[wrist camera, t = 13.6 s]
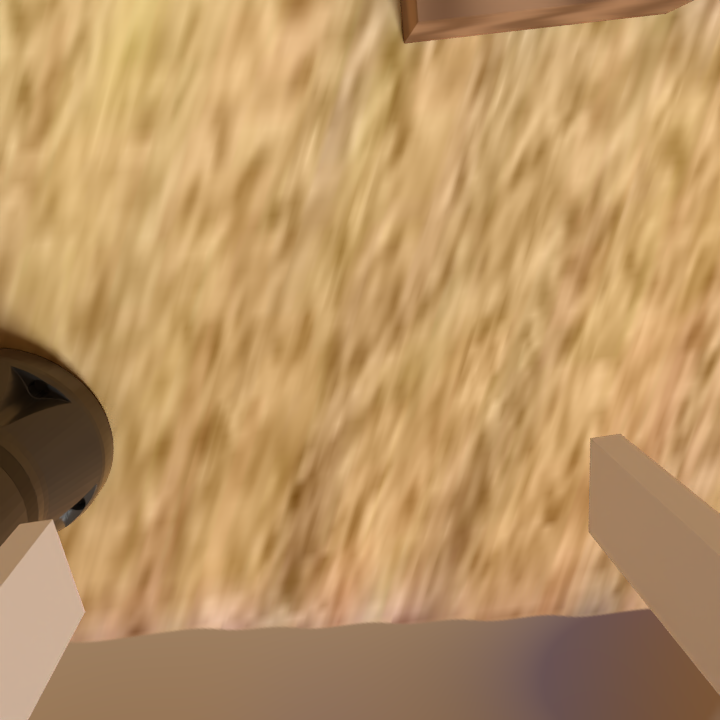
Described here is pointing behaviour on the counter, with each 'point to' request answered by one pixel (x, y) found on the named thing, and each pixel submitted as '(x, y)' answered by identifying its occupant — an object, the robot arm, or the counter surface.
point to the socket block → (515, 15)
